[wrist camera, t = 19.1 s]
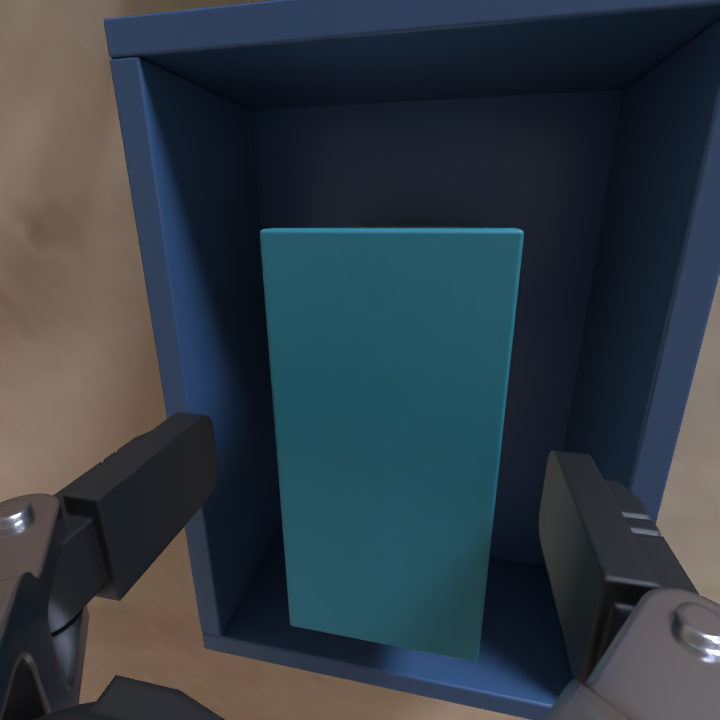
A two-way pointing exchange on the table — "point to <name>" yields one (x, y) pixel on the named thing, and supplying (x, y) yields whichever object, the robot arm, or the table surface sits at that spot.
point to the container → (390, 423)
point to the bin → (429, 208)
